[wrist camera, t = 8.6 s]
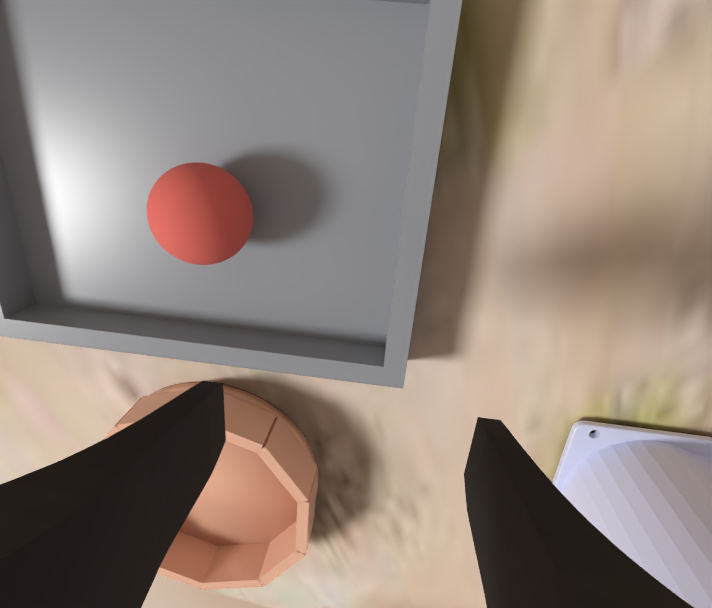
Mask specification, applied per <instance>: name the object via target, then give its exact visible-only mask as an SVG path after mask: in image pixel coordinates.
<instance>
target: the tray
mask: <svg viewBox="0 0 712 608" xmlns="http://www.w3.org/2000/svg"><path fill="white" fill-rule="evenodd" d="M461 6H462V0H0V336H2V337H10V338H17V339H25V340H33V341H41V342H48V343H56V344H64V345H71V346H79V347H87V348H95V349H102V350H110V351H118V352H125V353H133V354H141V355H148V356H156V357H164V358H172V359H179V360H187V361H195V362H202V363H210V364H218V365H226V366H233V367H241V368H249V369H256V370H264V371H272V372H280V373H287V374H295V375H303V376H310V377H318V378H326V379H334V380H341V381H349V382H357V383H364V384H372V385H380V386H388V387H395V388H403V386H404V379H405V372H406V366H407V359H408V353H409V346H410V340H411V333H412V327H413V320H414V314H415V307H416V301H417V294H418V287H419V281H420V274H421V268H422V261H423V255H424V248H425V242H426V235H427V229H428V222H429V216H430V209H431V202H432V196H433V189H434V183H435V176H436V170H437V163H438V157H439V150H440V144H441V137H442V130H443V124H444V117H445V111H446V104H447V98H448V91H449V85H450V78H451V72H452V65H453V59H454V52H455V45H456V39H457V32H458V26H459V19H460V13H461ZM193 162H198V163H207V164H211V165H214V166H217V167H220V168H222V169H224V170H226V171H227V172H229V173H230V174H231V175H233V176H234V177H235V178H236V179H237V180H238V181H239V182H240V183H241V184H242V186H243V187H244V188H245V190H246V192H247V193H248V196H249V198H250V201H251V204H252V209H253V226H252V231H251V233H250V236H249V238H248V240H247V242H246V243H245V245H244V246H243V247H242V249H241V250H240V251H239V252H238V253H236V254H235V255H234V256H232V257H231V258H229V259H227V260H225V261H223V262H220V263H216V264H211V265H197V264H191V263H187V262H184V261H182V260H180V259H177V258H176V257H174V256H172V255H171V254H169V253H168V252H167V251H166V250H165V249H163V248H162V247H161V245H160V244H159V243H158V242H157V240H156V239H155V237H154V236H153V234H152V232H151V229H150V227H149V224H148V220H147V201H148V197H149V194H150V191H151V189H152V187H153V186H154V184H155V182H156V181H157V180H158V179H159V178H160V177H161V176H162V175H163V174H164V173H165V172H167V171H168V170H170V169H171V168H173V167H176V166H178V165H181V164H185V163H193Z"/></svg>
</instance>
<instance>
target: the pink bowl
mask: <svg viewBox="0 0 712 608" xmlns="http://www.w3.org/2000/svg"><path fill="white" fill-rule="evenodd" d="M198 383H200V382H195V383H183V384H177V385H172V386H169V387H166V388H163V389H160V390H158V391H156V392H154V393H152V394H151V395H149V396H144V397H143V398H141V399H140V400H139V401H138V402H137V403H136V404H135V405H134V406H133V407H132V408H131V409H130V410H129V411H128V412H127V413H126V414H125V415H124V416H123V417H122V419H121V420H120V421H119V422H118V423H117V424H116V425H115V426H114V427H113V428H112V430H111V431H110V432H109V433H108V435H107V436H106V437H105V438H104V439H106V438H108V437H110V436H111V435H113V434H115V433H117V432H119V431H120V430H122V429H124V428H126V427H127V426H129V425H131V424H133V423H135V422H136V421H138V420H140V419H142V418H143V417H145V416H147V415H148V414H150V413H151V412H153V411H155V410H156V409H158V408H159V407H161V406H163V405H164V404H166V403H168V402H169V401H171V400H172V399H174V398H175V397H177V396H179V395H180V394H182V393H183V392H185V391H187V390H188V389H190V388H191V387H193V386H195V385H196V384H198ZM223 388H224V411H225V433H226V441H225V444H224V446H223V449H222V451H221V454H220V456H219V459H218V461H217V463H216V466H215V468H214V470H213V473H212V475H211V476H210V478H209V480H208V482H207V483H206V485H205V487H204V489H203V491H202V492H201V494H200V496H199V498H198V499H197V501H196V503H195V504H194V506H193V508H192V510H191V511H190V513H189V515H188V517H187V518H186V520H185V522H184V524H183V525H182V527H181V529H180V530H179V532H178V534H177V536H176V537H175V539H174V541H173V543H172V544H171V546H170V548H169V550H168V552H167V554H166V555H165V557H164V559H163V561H162V563H161V565H160V567H159V570H158V572H157V573H158V574H161V575H164V576H166V577H169V578H172V579H174V580H177V581H180V582H182V583H185V584H188V585H190V586H193V587H196V588H199V589H202V588H203V589H204V590H211V589H229V588H246V587H263V585H265V586H266V585H267V584H268V583H270V582H271V581H272V580H274V579H275V578H276V577H278V576H279V575H280V574H281V573H283V572H284V571H285V570H287V569H288V568H289V567H291V566H292V565H293V564H295V563H296V562H297V561H299V560H300V559H301V558H303V557H304V556H305V554H306V552H307V548H308V543H309V539H310V535H311V530H312V526H313V521H314V517H315V502H316V495H317V489H318V483H319V480H318V468H317V462H316V459H315V456H314V453H313V451H312V449H311V447H310V445H309V443H308V441H307V439H306V438H305V437H304V435H303V434H302V432H301V431H300V430H299V429H298V427H297V426H296V425H295V424H294V423H293V422H292V421H291V420H290V419H289V418H288V417H287V416H286V415H285V414H283V413H282V412H281V411H280V410H278V409H277V408H275V407H274V406H273V405H271V404H270V403H268V402H266V401H265V400H263V399H261V398H259V397H257V396H255V395H253V394H250V393H248V392H246V391H243V390H240V389H237V388H234V387H230V386H226V385H223Z"/></svg>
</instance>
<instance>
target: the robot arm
mask: <svg viewBox="0 0 712 608" xmlns="http://www.w3.org/2000/svg"><path fill="white" fill-rule="evenodd" d="M593 430H596V431H595V432H594V433H590V432H591V431H593ZM225 441H226V433H225V411H224V388H223V383H215V382H208V381H202V382H200V383H198V384H196V385H195V386H193V387H191V388H190V389H188V390H187V391H185V392H183V393H182V394H180V395H179V396H177V397H175V398H174V399H172V400H171V401H169V402H168V403H166V404H164V405H163V406H161V407H159V408H158V409H156V410H155V411H153V412H151V413H150V414H148V415H147V416H145V417H143V418H142V419H140V420H138V421H136V422H135V423H133V424H131V425H129V426H127V427H126V428H124V429H122V430H120V431H119V432H117V433H115V434H113V435H111V436H110V437H108V438H106V439H104V440H102V441H100V442H98V443H96V444H94V445H92V446H90V447H88V448H86V449H84V450H82V451H80V452H78V453H76V454H74V455H72V456H69V457H67V458H65V459H63V460H61V461H58V462H56V463H54V464H51V465H49V466H46V467H44V468H41V469H39V470H36V471H34V472H31V473H29V474H26V475H24V476H22V477H19V478H17V479H14V480H12V481H9V482H6V483H3V484H1V485H0V608H141V607H142V604H143V602H144V600H145V598H146V596H147V593H148V591H149V589H150V587H151V585H152V582H153V580H154V578H155V576H156V574H157V572H158V570H159V567H160V565H161V563H162V561H163V559H164V557H165V555H166V554H167V552H168V550H169V548H170V546H171V544H172V543H173V541H174V539H175V537H176V536H177V534H178V532H179V530H180V529H181V527H182V525H183V524H184V522H185V520H186V518H187V517H188V515H189V513H190V511H191V510H192V508H193V506H194V504H195V503H196V501H197V499H198V498H199V496H200V494H201V492H202V491H203V489H204V487H205V485H206V483H207V482H208V480H209V478H210V476H211V475H212V473H213V470H214V468H215V466H216V463H217V461H218V459H219V456H220V454H221V451H222V449H223V446H224V444H225ZM464 479H465V492H466V503H467V512H468V517H469V522H470V527H471V531H472V536H473V541H474V546H475V551H476V555H477V560H478V565H479V570H480V574H481V579H482V584H483V589H484V593H485V599H486V605H487V608H712V437H707V436H699V435H691V434H684V433H676V432H668V431H661V430H653V429H646V428H638V427H630V426H623V425H615V424H607V423H600V422H592V421H578V422H576V423H575V424H573V426H572V428H571V431H570V434H569V436H568V439H567V442H566V445H565V448H564V451H563V453H562V456H561V459H560V462H559V465H558V468H557V470H556V473H555V476H554V479H553V482H551V481H550V480H549V479H548V478H547V476H546V475H545V474H544V473H543V472H542V471H541V469H540V468H539V467H538V466H537V465H536V464H535V462H534V461H533V460H532V459H531V458H530V456H529V455H528V454H527V453H526V451H525V450H524V449H523V448H522V446H521V445H520V444H519V443H518V442H517V440H516V439H515V438H514V436H513V435H512V434H511V433H510V431H509V430H508V429H507V428H506V426H505V425H504V424H503V423H502V422H501V420H495V419H487V418H480V417H478V419H477V423H476V427H475V431H474V436H473V440H472V444H471V448H470V452H469V456H468V460H467V464H466V468H465V473H464Z"/></svg>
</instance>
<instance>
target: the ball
mask: <svg viewBox="0 0 712 608" xmlns="http://www.w3.org/2000/svg"><path fill="white" fill-rule="evenodd" d="M147 220H148V224H149V227H150V229H151V232H152V234H153V236H154V237H155V239H156V240H157V242H158V243H159V244H160V245H161V247H162V248H163V249H165V250H166V251H167V252H168V253H169V254H171V255H172V256H174V257H176V258H177V259H180V260H182V261H184V262H187V263H191V264H197V265H211V264H216V263H220V262H223V261H225V260H227V259H229V258H231V257H232V256H234V255H235V254H236V253H238V252H239V251H240V250H241V249H242V247H243V246H244V245H245V243H246V242H247V240H248V238H249V236H250V233H251V231H252V226H253V209H252V204H251V201H250V198H249V196H248V193H247V192H246V190H245V188H244V187H243V186H242V184H241V183H240V182H239V181H238V180H237V179H236V178H235V177H234V176H233V175H231V174H230V173H229V172H227V171H226V170H224V169H222V168H220V167H217V166H214V165H211V164H207V163H198V162H193V163H185V164H181V165H178V166H176V167H173V168H171V169H170V170H168V171H167V172H165V173H164V174H163V175H162V176H161V177H160V178H159V179H158V180H157V181H156V182H155V184H154V186H153V187H152V189H151V191H150V194H149V197H148V201H147Z"/></svg>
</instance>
